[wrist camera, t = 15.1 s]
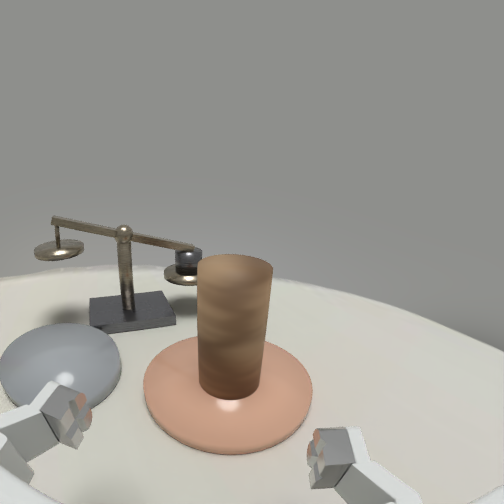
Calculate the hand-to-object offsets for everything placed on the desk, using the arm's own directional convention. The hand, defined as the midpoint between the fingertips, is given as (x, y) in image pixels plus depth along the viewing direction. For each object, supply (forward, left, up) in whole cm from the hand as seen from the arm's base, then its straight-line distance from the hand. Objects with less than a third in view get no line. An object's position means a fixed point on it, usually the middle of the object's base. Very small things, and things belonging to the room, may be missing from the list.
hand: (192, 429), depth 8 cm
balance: (-13, +22, -10) cm, 27 cm away
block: (0, +12, -8) cm, 15 cm away
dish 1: (-16, +10, -10) cm, 21 cm away
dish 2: (0, +12, -10) cm, 15 cm away
